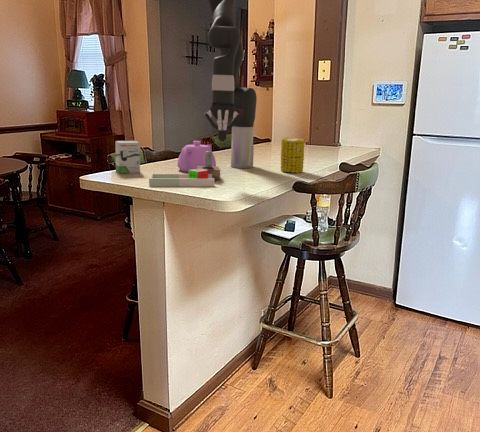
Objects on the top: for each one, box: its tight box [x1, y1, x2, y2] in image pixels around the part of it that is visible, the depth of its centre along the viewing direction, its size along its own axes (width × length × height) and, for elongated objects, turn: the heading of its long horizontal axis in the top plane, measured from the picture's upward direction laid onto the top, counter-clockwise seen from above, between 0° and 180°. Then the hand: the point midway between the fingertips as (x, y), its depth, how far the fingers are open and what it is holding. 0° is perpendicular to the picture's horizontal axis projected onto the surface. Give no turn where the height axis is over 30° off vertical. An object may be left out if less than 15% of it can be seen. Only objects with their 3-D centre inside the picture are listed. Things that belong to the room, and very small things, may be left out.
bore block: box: [197, 165, 221, 182], centre depth 175 cm, size 8×8×4 cm
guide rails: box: [177, 173, 215, 187], centre depth 166 cm, size 12×10×2 cm
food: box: [280, 136, 305, 174], centre depth 194 cm, size 15×12×10 cm
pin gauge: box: [205, 150, 213, 169], centre depth 174 cm, size 2×2×10 cm
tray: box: [148, 173, 180, 187], centre depth 164 cm, size 10×10×2 cm
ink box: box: [115, 140, 141, 174], centre depth 183 cm, size 9×5×12 cm, turn 117°
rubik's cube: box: [188, 169, 208, 178], centre depth 165 cm, size 5×5×5 cm
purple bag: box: [177, 140, 217, 173], centre depth 191 cm, size 22×16×12 cm
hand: (221, 141), depth 163 cm, fingers closed
